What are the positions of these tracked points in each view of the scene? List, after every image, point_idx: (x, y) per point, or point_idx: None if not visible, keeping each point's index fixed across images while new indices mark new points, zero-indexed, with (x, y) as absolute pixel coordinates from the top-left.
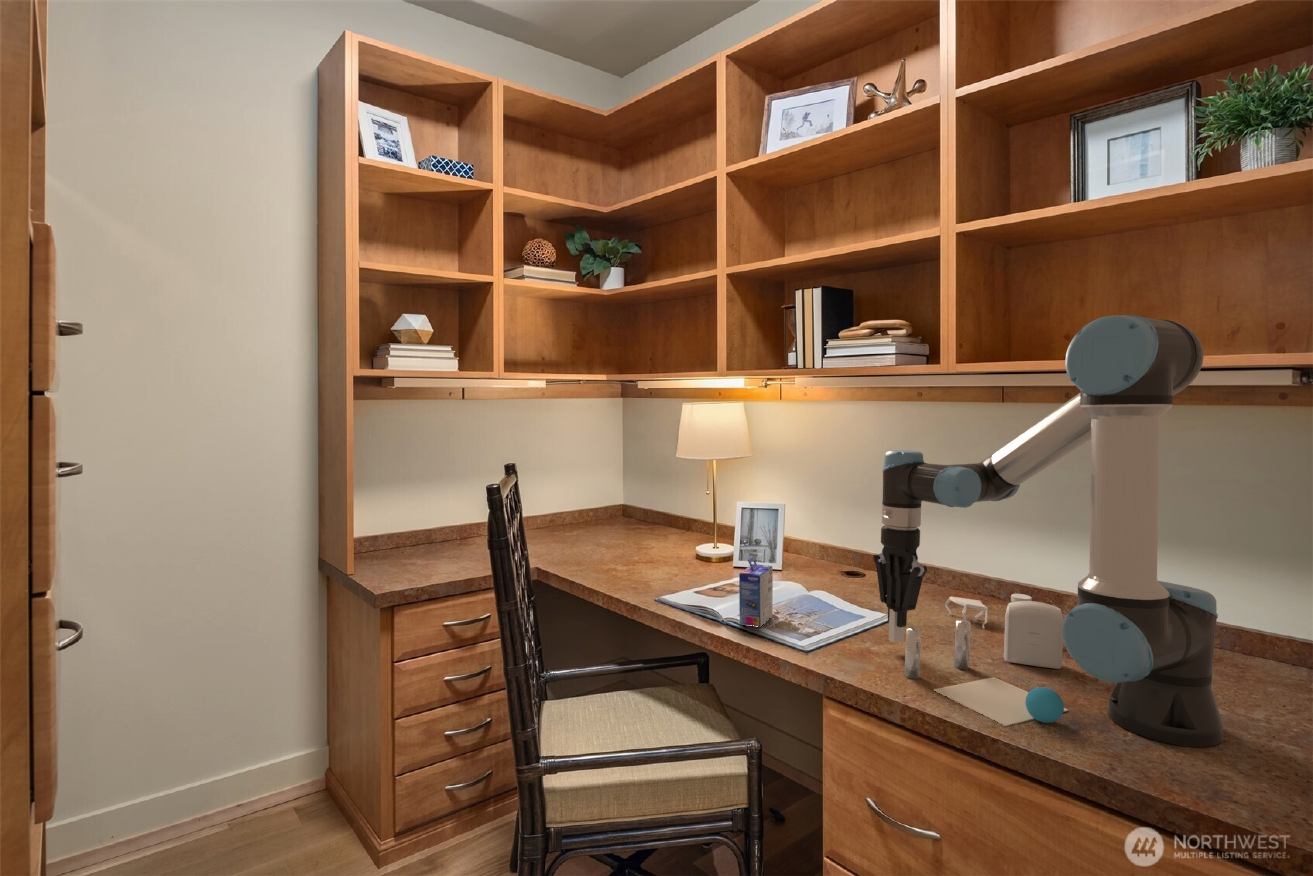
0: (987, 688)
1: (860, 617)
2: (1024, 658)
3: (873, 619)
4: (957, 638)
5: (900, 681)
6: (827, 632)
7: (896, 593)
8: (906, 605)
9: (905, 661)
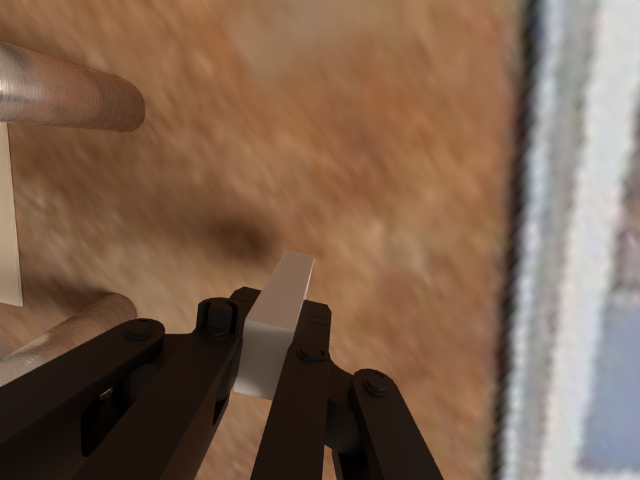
0: None
1: (588, 454)
2: None
3: (541, 466)
4: (28, 351)
5: (104, 22)
6: (603, 233)
7: (178, 433)
8: (96, 342)
9: (87, 70)
